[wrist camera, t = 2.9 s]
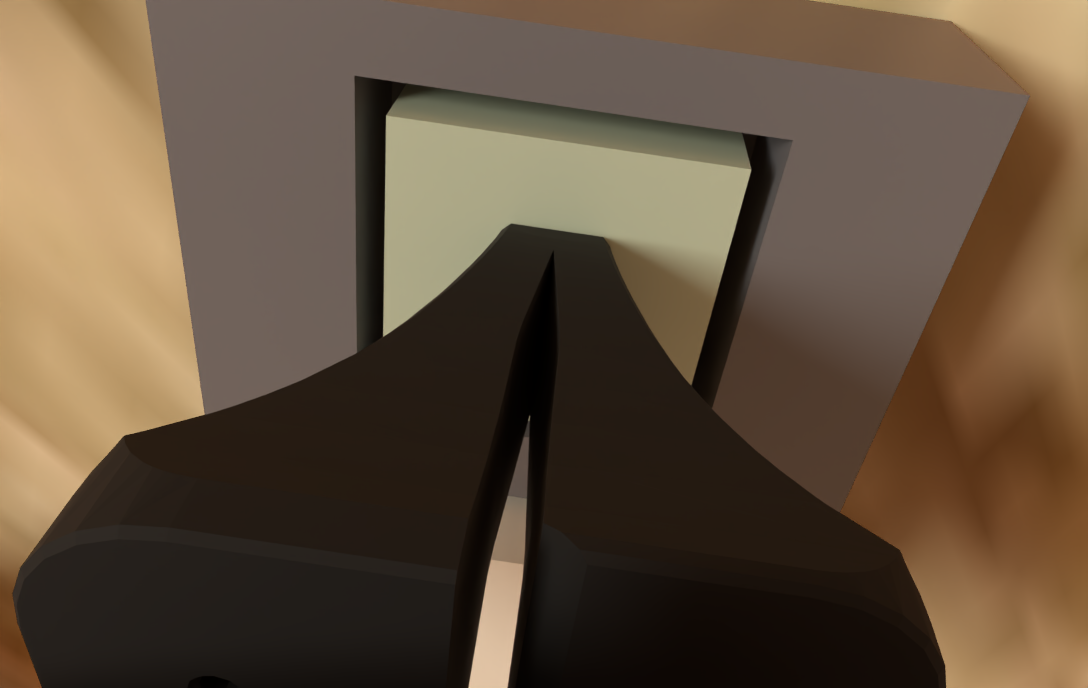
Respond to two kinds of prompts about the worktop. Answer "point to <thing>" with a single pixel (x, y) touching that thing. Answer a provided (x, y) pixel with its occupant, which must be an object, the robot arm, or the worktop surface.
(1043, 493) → the worktop surface
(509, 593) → the cream key
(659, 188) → the sage key
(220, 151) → the keypad
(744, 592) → the robot arm
